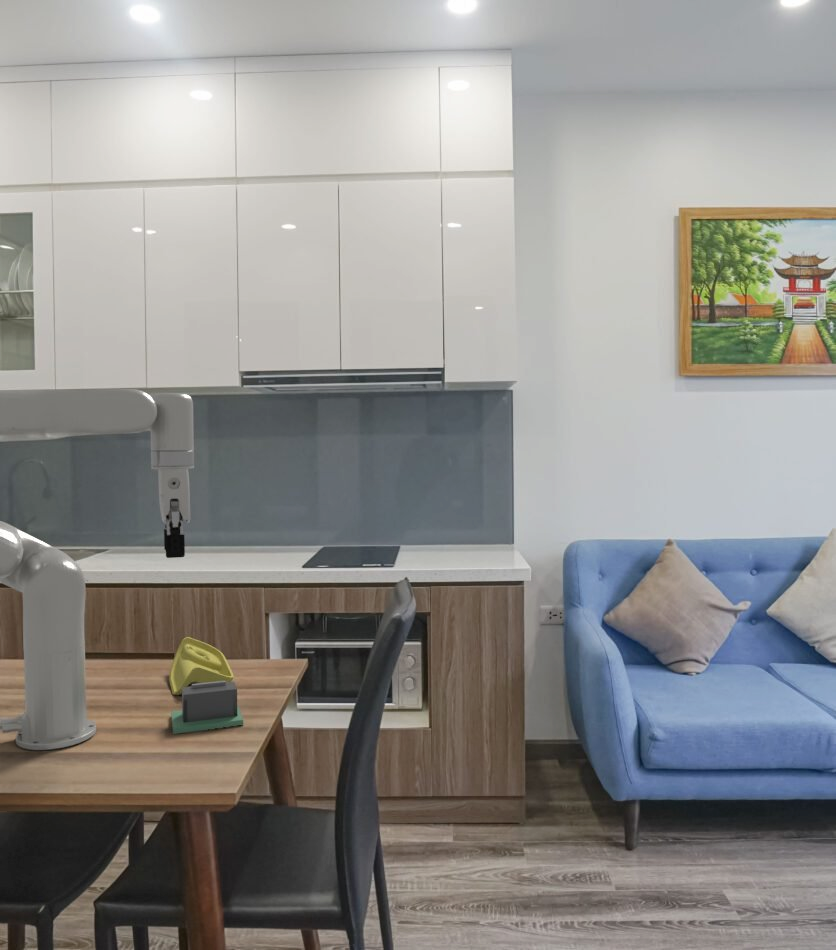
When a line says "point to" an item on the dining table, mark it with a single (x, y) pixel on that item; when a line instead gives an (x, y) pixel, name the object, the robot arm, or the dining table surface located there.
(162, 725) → the dining table surface
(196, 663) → the plastic component
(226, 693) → the plug
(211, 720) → the header
